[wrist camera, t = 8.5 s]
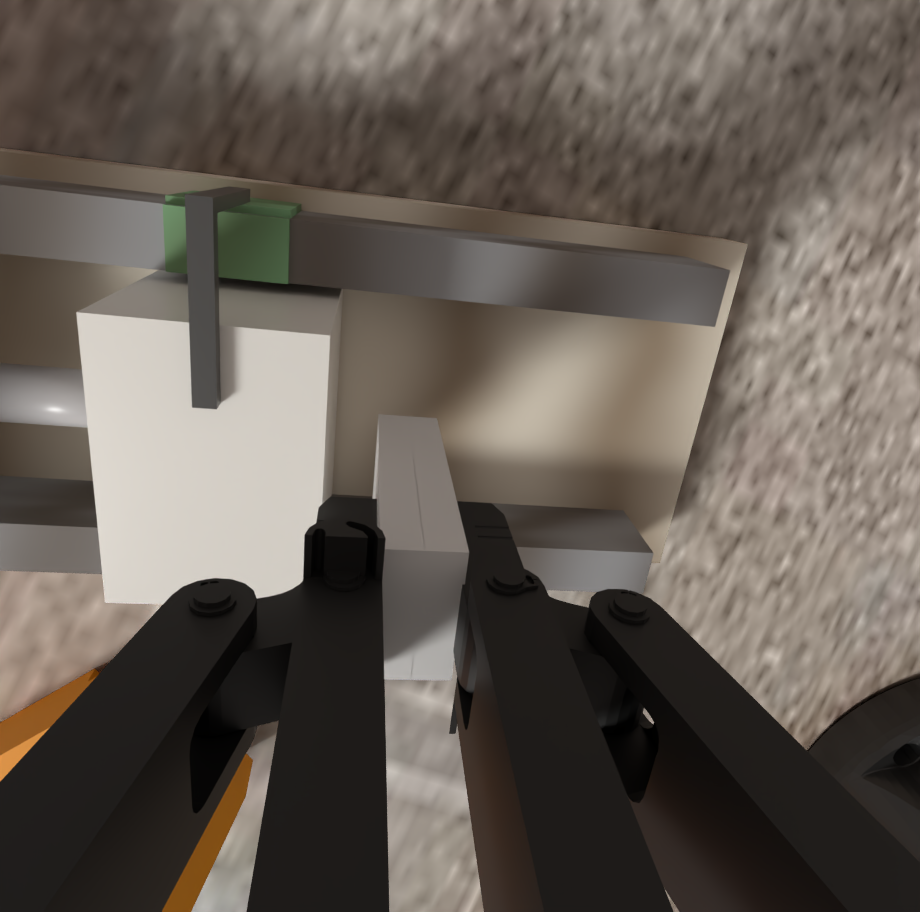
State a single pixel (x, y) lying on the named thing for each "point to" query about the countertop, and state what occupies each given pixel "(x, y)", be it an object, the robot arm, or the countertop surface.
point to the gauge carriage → (198, 419)
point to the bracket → (21, 731)
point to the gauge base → (396, 348)
